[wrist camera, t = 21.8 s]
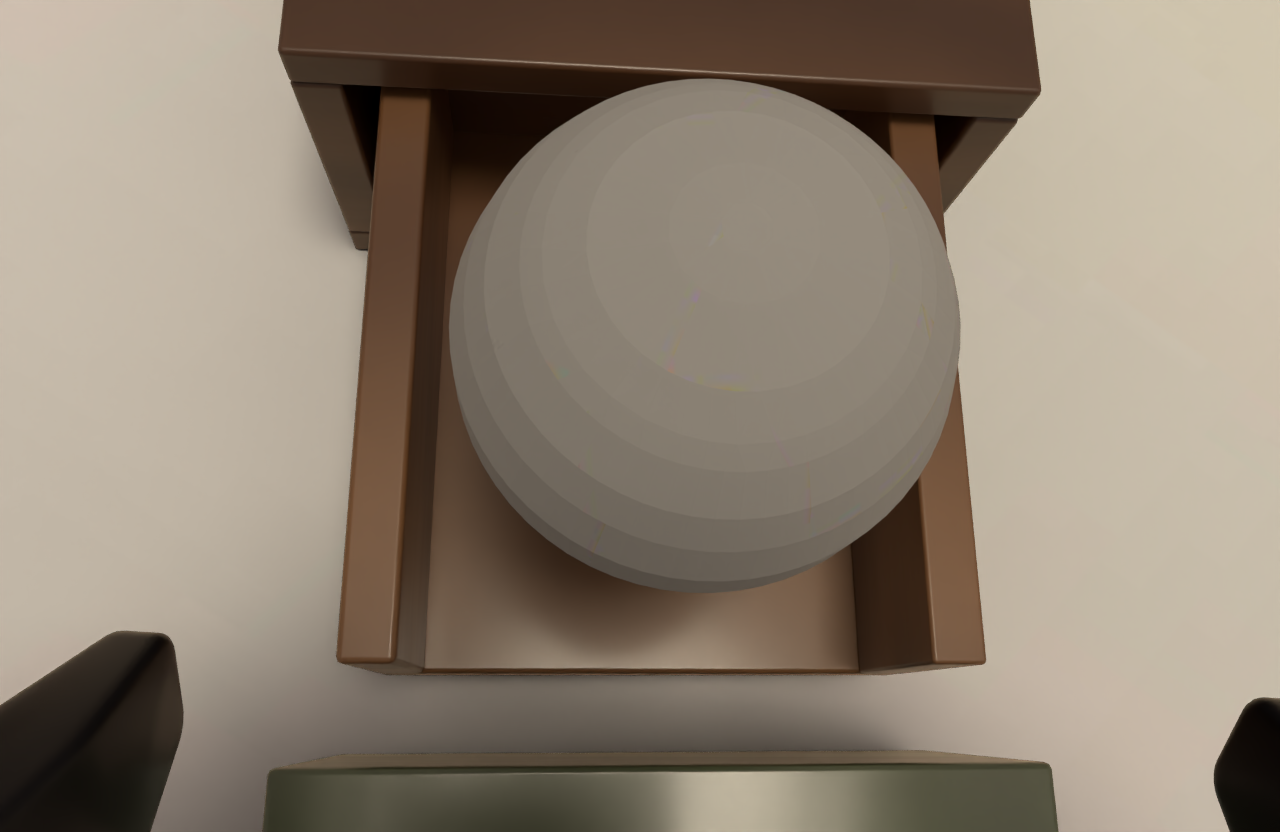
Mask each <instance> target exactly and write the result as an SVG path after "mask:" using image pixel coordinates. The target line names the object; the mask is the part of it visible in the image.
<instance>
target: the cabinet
mask: <svg viewBox="0 0 1280 832" xmlns="http://www.w3.org/2000/svg"><path fill="white" fill-rule="evenodd" d="M278 51H279V54H280V57H281V59H282V62H283V64H284V67H285V69H286V72H287V74H288V77H289V79H290V80H291V85H292V88H293V90H294V93H295V96H296V98H297V101H298V103H299V106H300V108H301V111H302V113H303V116H304V118H305V121H306V123H307V126H308V128H309V131H310V133H311V136H312V138H313V141H314V143H315V146H316V148H317V151H318V153H319V156H320V158H321V161H322V163H323V166H324V168H325V171H326V173H327V176H328V178H329V181H330V184H331V186H332V189H333V191H334V194H335V196H336V199H337V201H338V204H339V206H340V209H341V211H342V214H343V216H344V219H345V221H346V224H347V226H348V229H349V232H350V235H351V237H352V240H353V242H354V245H355V247H356V248H357V249H368V246H369V233H370V220H371V208H372V195H373V182H374V170H375V157H376V144H377V132H378V119H379V106H380V93H381V86H384V87H403V88H423V89H442V90H462V91H481V92H501V93H520V94H540V95H559V96H579V97H598V98H612V97H615V96H617V95H619V94H622V93H624V92H627V91H631V90H634V89H637V88H641V87H644V86H648V85H653V84H658V83H663V82H668V81H677V80H686V79H724V80H735V81H742V82H749V83H755V84H759V85H763V86H768V87H772V88H776V89H779V90H782V91H785V92H788V93H791V94H794V95H797V96H799V97H802V98H804V99H806V100H809V101H811V102H814V103H816V104H818V105H820V106H822V107H823V108H825V109H832V110H851V111H870V112H890V113H909V114H929V115H934V122H935V133H936V143H937V154H938V164H939V174H940V185H941V195H942V206H943V214H944V213H945V211H946V210H947V209H948V208H949V206H950V205H951V204H952V203H953V201H954V200H955V199H956V198H957V197H958V195H959V194H960V193H961V192H962V190H963V189H964V188H965V187H966V185H967V184H968V183H969V182H970V180H971V179H972V178H973V177H974V175H975V174H976V173H977V172H978V170H979V169H980V168H981V167H982V165H983V164H984V163H985V162H986V160H987V159H988V158H989V157H990V156H991V154H992V153H993V152H994V151H995V149H996V148H997V147H998V146H999V144H1000V143H1001V142H1002V141H1003V139H1004V138H1005V137H1006V136H1007V134H1008V133H1009V132H1010V131H1011V129H1012V128H1013V127H1014V126H1015V124H1016V123H1017V120H1018V118H1021V117H1022V116H1023V115H1024V114H1025V112H1026V111H1027V110H1028V109H1029V107H1030V106H1031V105H1032V104H1033V102H1034V101H1035V100H1036V99H1037V97H1038V96H1039V95H1040V92H1041V84H1040V77H1039V69H1038V61H1037V54H1036V46H1035V38H1034V31H1033V23H1032V15H1031V8H1030V0H284V1H283V10H282V19H281V28H280V37H279V45H278Z"/></svg>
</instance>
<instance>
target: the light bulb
mask: <svg viewBox="0 0 1280 832" xmlns="http://www.w3.org/2000/svg"><path fill="white" fill-rule="evenodd" d="M449 339H450V354H451V361H452V368H453V375H454V380H455V386H456V391H457V396H458V401H459V405H460V409H461V413H462V416H463V420H464V423H465V426H466V429H467V431H468V434H469V437H470V439H471V442H472V445H473V447H474V449H475V451H476V453H477V455H478V457H479V459H480V461H481V463H482V465H483V466H484V468H485V470H486V471H487V473H488V474H489V476H490V478H491V479H492V481H493V482H494V484H495V486H496V487H497V488H498V489H499V491H500V492H501V493H502V495H503V496H504V497H505V498H506V500H507V501H508V502H509V504H510V505H511V506H512V507H513V508H514V509H515V510H516V511H517V512H518V513H519V514H520V515H521V516H522V517H523V519H524V520H525V521H526V522H527V523H528V524H530V525H531V526H532V527H533V528H534V529H535V530H537V531H538V532H539V533H540V534H541V535H542V536H544V537H545V538H546V539H547V540H549V541H550V542H551V543H553V544H554V545H556V546H557V547H559V548H560V549H561V550H563V551H564V552H566V553H567V554H569V555H571V556H572V557H574V558H576V559H578V560H579V561H581V562H583V563H585V564H587V565H588V566H590V567H593V568H595V569H597V570H599V571H602V572H604V573H606V574H609V575H611V576H613V577H616V578H619V579H623V580H626V581H629V582H632V583H635V584H638V585H643V586H648V587H652V588H657V589H661V590H669V591H678V592H686V593H718V592H730V591H739V590H744V589H750V588H755V587H760V586H764V585H767V584H771V583H774V582H778V581H781V580H784V579H787V578H789V577H792V576H794V575H797V574H799V573H801V572H804V571H806V570H808V569H810V568H812V567H814V566H816V565H818V564H819V563H821V562H823V561H825V560H827V559H829V558H830V557H831V556H833V555H834V554H836V553H837V552H839V551H840V550H842V549H843V548H845V547H846V546H848V545H849V544H850V543H852V542H853V541H855V540H856V539H858V538H859V537H861V536H862V535H863V534H865V533H866V532H868V531H869V530H870V529H871V528H872V527H874V526H875V525H876V524H877V523H878V522H879V521H881V520H882V519H883V518H884V517H885V516H886V515H887V514H888V513H889V512H890V511H891V510H892V509H893V508H894V507H895V506H896V505H897V504H898V503H899V502H900V501H901V500H902V499H903V498H904V496H905V495H906V494H907V492H908V491H909V490H910V488H911V487H912V486H913V484H914V483H915V482H916V481H917V479H918V478H919V476H920V474H921V473H922V471H923V469H924V468H925V466H926V464H927V463H928V461H929V460H930V458H931V455H932V453H933V451H934V449H935V447H936V445H937V443H938V441H939V438H940V436H941V433H942V430H943V427H944V424H945V421H946V418H947V416H948V411H949V407H950V403H951V398H952V394H953V389H954V384H955V378H956V373H957V367H958V359H959V351H960V314H959V302H958V297H957V291H956V286H955V281H954V277H953V273H952V270H951V266H950V263H949V259H948V256H947V252H946V249H945V246H944V242H943V240H942V237H941V235H940V232H939V230H938V227H937V225H936V223H935V221H934V219H933V217H932V215H931V213H930V211H929V209H928V207H927V205H926V203H925V202H924V200H923V199H922V197H921V195H920V194H919V192H918V191H917V189H916V188H915V186H914V185H913V183H912V182H911V181H910V179H909V178H908V177H907V176H906V174H905V173H904V172H903V170H902V169H901V168H900V167H899V166H898V165H897V164H896V163H895V161H894V160H893V159H892V158H891V157H890V156H889V155H888V154H887V153H886V152H885V151H884V150H883V149H882V148H881V147H880V146H878V145H877V144H876V143H875V142H874V141H873V140H872V139H871V138H869V137H868V136H867V135H866V134H864V133H863V132H862V131H860V130H859V129H858V128H856V127H855V126H854V125H852V124H851V123H849V122H848V121H846V120H844V119H843V118H841V117H840V116H838V115H836V114H835V113H833V112H831V111H829V110H827V109H825V108H823V107H822V106H820V105H818V104H816V103H814V102H811V101H809V100H806V99H804V98H802V97H799V96H797V95H794V94H791V93H788V92H785V91H782V90H779V89H776V88H772V87H768V86H763V85H759V84H755V83H749V82H742V81H735V80H724V79H686V80H677V81H668V82H663V83H658V84H653V85H648V86H644V87H641V88H637V89H634V90H631V91H627V92H624V93H622V94H619V95H617V96H615V97H612V98H610V99H607V100H605V101H603V102H601V103H599V104H597V105H595V106H593V107H591V108H590V109H588V110H586V111H584V112H582V113H581V114H579V115H577V116H575V117H574V118H572V119H571V120H569V121H567V122H566V123H564V124H563V125H561V126H560V127H558V128H557V129H555V130H554V131H552V132H551V133H550V134H549V135H547V136H546V137H545V138H544V139H542V140H541V141H540V142H539V143H537V144H536V145H535V146H534V147H533V148H532V149H531V150H530V151H529V152H528V153H527V154H526V155H525V156H524V157H523V158H522V159H521V160H520V161H519V162H518V163H517V165H516V166H515V167H514V168H513V169H512V171H511V172H510V173H509V174H508V175H507V177H506V178H505V179H504V181H503V182H502V184H501V185H500V187H499V188H498V190H497V191H496V193H495V194H494V196H493V197H492V199H491V200H490V202H489V203H488V205H487V206H486V208H485V209H484V211H483V212H482V214H481V215H480V217H479V219H478V221H477V223H476V225H475V227H474V229H473V230H472V232H471V234H470V236H469V239H468V241H467V244H466V246H465V249H464V251H463V254H462V256H461V259H460V263H459V266H458V270H457V273H456V277H455V280H454V286H453V292H452V298H451V304H450V319H449Z"/></svg>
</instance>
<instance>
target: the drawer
mask: <svg viewBox="0 0 1280 832" xmlns="http://www.w3.org/2000/svg"><path fill="white" fill-rule="evenodd" d="M607 99H610V98H598V97H579V96H559V95H540V94H520V93H501V92H481V91H462V90H442V89H423V88H403V87H384V86H381V93H380V106H379V119H378V132H377V144H376V157H375V170H374V182H373V195H372V208H371V220H370V233H369V246H368V258H367V271H366V284H365V297H364V309H363V322H362V335H361V347H360V360H359V373H358V385H357V398H356V411H355V423H354V436H353V449H352V462H351V474H350V487H349V500H348V512H347V525H346V538H345V550H344V563H343V576H342V588H341V601H340V614H339V627H338V639H337V652H336V658H337V661H338V662H340V663H342V664H345V665H349V666H353V667H357V668H361V669H365V670H369V671H373V672H377V673H382V674H385V675H891V674H902V673H911V672H920V671H929V670H938V669H947V668H956V667H965V666H974V665H982V664H984V663H985V662H986V654H985V644H984V633H983V623H982V613H981V602H980V592H979V581H978V571H977V560H976V550H975V540H974V529H973V519H972V508H971V498H970V487H969V477H968V467H967V456H966V446H965V435H964V425H963V414H962V404H961V394H960V383H959V373H958V367H957V373H956V378H955V384H954V389H953V394H952V398H951V403H950V407H949V411H948V416H947V418H946V421H945V424H944V427H943V430H942V433H941V436H940V438H939V441H938V443H937V445H936V447H935V449H934V451H933V453H932V455H931V458H930V460H929V461H928V463H927V464H926V466H925V468H924V469H923V471H922V473H921V474H920V476H919V478H918V479H917V481H916V482H915V483H914V484H913V486H912V487H911V488H910V490H909V491H908V492H907V494H906V495H905V496H904V498H903V499H902V500H901V501H900V502H899V503H898V504H897V505H896V506H895V507H894V508H893V509H892V510H891V511H890V512H889V513H888V514H887V515H886V516H885V517H884V518H883V519H882V520H881V521H879V522H878V523H877V524H876V525H875V526H874V527H872V528H871V529H870V530H869V531H868V532H866V533H865V534H863V535H862V536H861V537H859V538H858V539H856V540H855V541H853V542H852V543H850V544H849V545H848V546H846V547H845V548H843V549H842V550H840V551H839V552H837V553H836V554H834V555H833V556H831V557H830V558H829V559H827V560H825V561H823V562H821V563H819V564H818V565H816V566H814V567H812V568H810V569H808V570H806V571H804V572H801V573H799V574H797V575H794V576H792V577H789V578H787V579H784V580H781V581H778V582H774V583H771V584H767V585H764V586H760V587H755V588H750V589H744V590H739V591H730V592H718V593H686V592H678V591H669V590H661V589H657V588H652V587H648V586H643V585H638V584H635V583H632V582H629V581H626V580H623V579H619V578H616V577H613V576H611V575H609V574H606V573H604V572H602V571H599V570H597V569H595V568H593V567H590V566H588V565H587V564H585V563H583V562H581V561H579V560H578V559H576V558H574V557H572V556H571V555H569V554H567V553H566V552H564V551H563V550H561V549H560V548H559V547H557V546H556V545H554V544H553V543H551V542H550V541H549V540H547V539H546V538H545V537H544V536H542V535H541V534H540V533H539V532H538V531H537V530H535V529H534V528H533V527H532V526H531V525H530V524H528V523H527V522H526V521H525V520H524V519H523V517H522V516H521V515H520V514H519V513H518V512H517V511H516V510H515V509H514V508H513V507H512V506H511V505H510V504H509V502H508V501H507V500H506V498H505V497H504V496H503V495H502V493H501V492H500V491H499V489H498V488H497V487H496V486H495V484H494V482H493V481H492V479H491V478H490V476H489V474H488V473H487V471H486V470H485V468H484V466H483V465H482V463H481V461H480V459H479V457H478V455H477V453H476V451H475V449H474V447H473V445H472V442H471V439H470V437H469V434H468V431H467V429H466V426H465V423H464V420H463V416H462V413H461V409H460V405H459V401H458V396H457V391H456V386H455V380H454V375H453V368H452V361H451V354H450V339H449V319H450V304H451V298H452V292H453V286H454V280H455V277H456V273H457V270H458V266H459V263H460V259H461V256H462V254H463V251H464V249H465V246H466V244H467V241H468V239H469V236H470V234H471V232H472V230H473V229H474V227H475V225H476V223H477V221H478V219H479V217H480V215H481V214H482V212H483V211H484V209H485V208H486V206H487V205H488V203H489V202H490V200H491V199H492V197H493V196H494V194H495V193H496V191H497V190H498V188H499V187H500V185H501V184H502V182H503V181H504V179H505V178H506V177H507V175H508V174H509V173H510V172H511V171H512V169H513V168H514V167H515V166H516V165H517V163H518V162H519V161H520V160H521V159H522V158H523V157H524V156H525V155H526V154H527V153H528V152H529V151H530V150H531V149H532V148H533V147H534V146H535V145H536V144H537V143H539V142H540V141H541V140H542V139H544V138H545V137H546V136H547V135H549V134H550V133H551V132H552V131H554V130H555V129H557V128H558V127H560V126H561V125H563V124H564V123H566V122H567V121H569V120H571V119H572V118H574V117H575V116H577V115H579V114H581V113H582V112H584V111H586V110H588V109H590V108H591V107H593V106H595V105H597V104H599V103H601V102H603V101H605V100H607ZM827 110H829V111H831V112H833V113H835V114H836V115H838V116H840V117H841V118H843V119H844V120H846V121H848V122H849V123H851V124H852V125H854V126H855V127H856V128H858V129H859V130H860V131H862V132H863V133H864V134H866V135H867V136H868V137H869V138H871V139H872V140H873V141H874V142H875V143H876V144H877V145H878V146H880V147H881V148H882V149H883V150H884V151H885V152H886V153H887V154H888V155H889V156H890V157H891V158H892V159H893V160H894V161H895V163H896V164H897V165H898V166H899V167H900V168H901V169H902V170H903V172H904V173H905V174H906V176H907V177H908V178H909V179H910V181H911V182H912V183H913V185H914V186H915V188H916V189H917V191H918V192H919V194H920V195H921V197H922V199H923V200H924V202H925V203H926V205H927V207H928V209H929V211H930V213H931V215H932V217H933V219H934V221H935V223H936V225H937V227H938V230H939V232H940V235H941V237H942V240H943V242H944V246H945V249H946V252H947V247H946V237H945V227H944V216H943V206H942V195H941V185H940V174H939V164H938V154H937V143H936V133H935V122H934V115H929V114H909V113H890V112H870V111H851V110H832V109H827ZM262 832H1058V823H1057V814H1056V805H1055V796H1054V787H1053V778H1052V769H1051V767H1050V765H1049V764H1047V763H1045V762H1039V761H1029V760H1018V759H1008V758H997V757H987V756H977V755H966V754H956V753H946V752H935V751H925V750H892V751H739V752H587V753H434V754H341V755H336V756H331V757H327V758H322V759H317V760H312V761H307V762H302V763H297V764H292V765H287V766H283V767H278V768H274V769H272V770H270V772H269V774H268V776H267V785H266V796H265V807H264V817H263V828H262Z"/></svg>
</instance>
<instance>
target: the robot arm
mask: <svg viewBox="0 0 1280 832" xmlns="http://www.w3.org/2000/svg"><path fill="white" fill-rule="evenodd" d="M183 714H184V712H183V703H182V696H181V689H180V683H179V676H178V669H177V662H176V655H175V649H174V645H173V643H172V641H171V639H170V638H169V637H168V636H167V635H165V634H162V633H154V632H137V631H116V632H113V633H111V634H109V635H107V636H105V637H104V638H102V639H101V640H99V641H98V642H96V643H94V644H93V645H91V646H90V647H88V648H87V649H85V650H84V651H82V652H81V653H79V654H78V655H76V656H75V657H73V658H72V659H70V660H69V661H67V662H65V663H64V664H62V665H61V666H59V667H58V668H56V669H55V670H53V671H52V672H50V673H49V674H47V675H46V676H44V677H43V678H41V679H40V680H38V681H37V682H35V683H33V684H32V685H30V686H29V687H27V688H26V689H24V690H23V691H21V692H20V693H18V694H17V695H15V696H14V697H12V698H11V699H9V700H8V701H6V702H5V703H3V704H1V705H0V832H150V831H151V828H152V825H153V822H154V819H155V815H156V812H157V809H158V806H159V803H160V800H161V797H162V794H163V791H164V788H165V785H166V782H167V778H168V775H169V772H170V769H171V766H172V763H173V760H174V757H175V754H176V751H177V748H178V745H179V741H180V738H181V733H182V728H183ZM1214 786H1215V792H1216V795H1217V798H1218V801H1219V804H1220V806H1221V809H1222V812H1223V814H1224V817H1225V820H1226V822H1227V825H1228V828H1229V830H1230V832H1280V698H1265V697H1264V698H1257V699H1254V700H1252V701H1251V702H1250V703H1248V704H1247V705H1246V706H1245V708H1244V709H1243V711H1242V713H1241V715H1240V717H1239V719H1238V721H1237V723H1236V724H1235V726H1234V728H1233V730H1232V732H1231V734H1230V736H1229V738H1228V740H1227V742H1226V744H1225V746H1224V748H1223V750H1222V752H1221V754H1220V756H1219V758H1218V760H1217V762H1216V765H1215V769H1214Z"/></svg>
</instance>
